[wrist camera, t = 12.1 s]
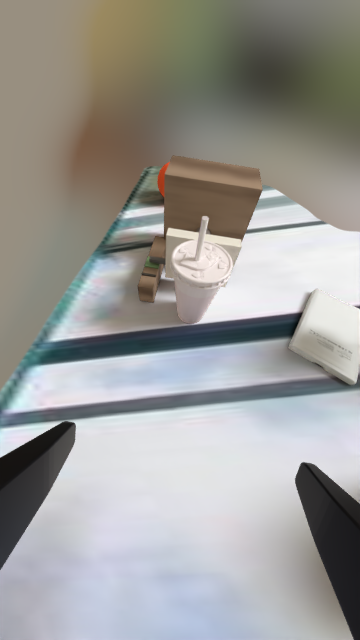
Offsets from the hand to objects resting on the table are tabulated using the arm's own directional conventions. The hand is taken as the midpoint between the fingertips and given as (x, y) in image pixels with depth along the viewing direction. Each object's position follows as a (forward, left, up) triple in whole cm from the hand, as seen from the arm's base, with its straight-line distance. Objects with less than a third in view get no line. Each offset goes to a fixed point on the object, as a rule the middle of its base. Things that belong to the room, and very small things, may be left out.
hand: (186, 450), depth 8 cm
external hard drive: (+26, +2, -14) cm, 30 cm away
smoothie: (+9, +13, -14) cm, 21 cm away
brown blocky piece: (+14, +21, -14) cm, 28 cm away
